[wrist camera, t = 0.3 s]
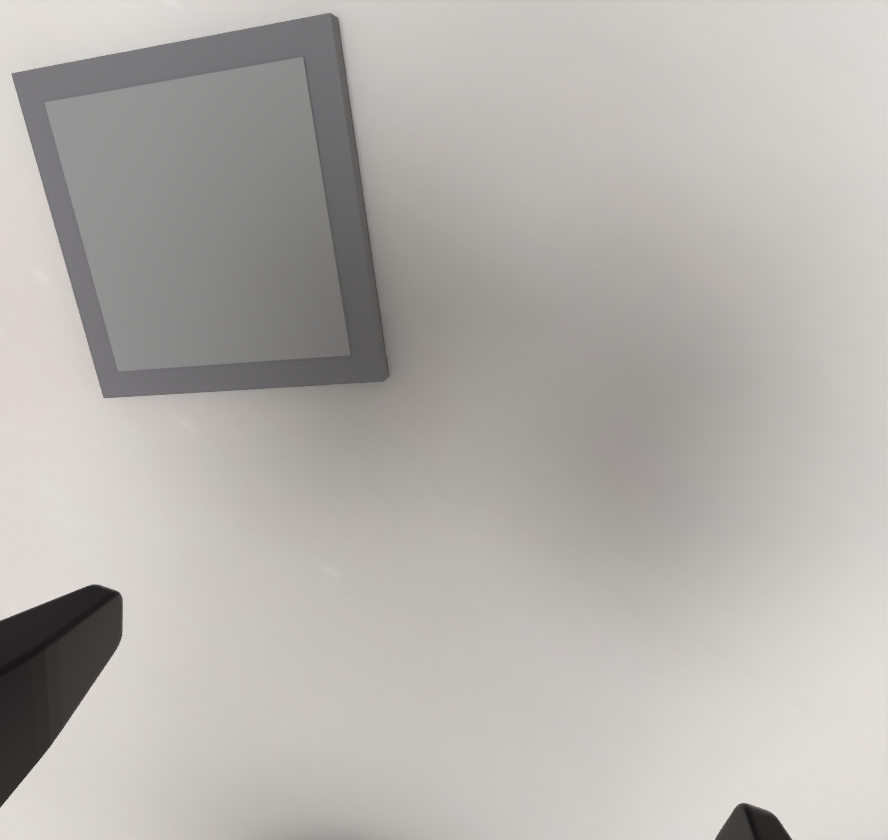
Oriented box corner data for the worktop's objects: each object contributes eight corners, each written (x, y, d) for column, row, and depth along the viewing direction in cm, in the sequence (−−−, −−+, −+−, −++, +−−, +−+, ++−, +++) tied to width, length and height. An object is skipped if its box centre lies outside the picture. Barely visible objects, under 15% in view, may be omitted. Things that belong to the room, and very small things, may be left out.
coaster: (388, 376, 23) (383, 382, 22) (114, 393, 25) (102, 398, 25) (337, 18, 19) (329, 12, 19) (25, 76, 22) (8, 72, 21)
